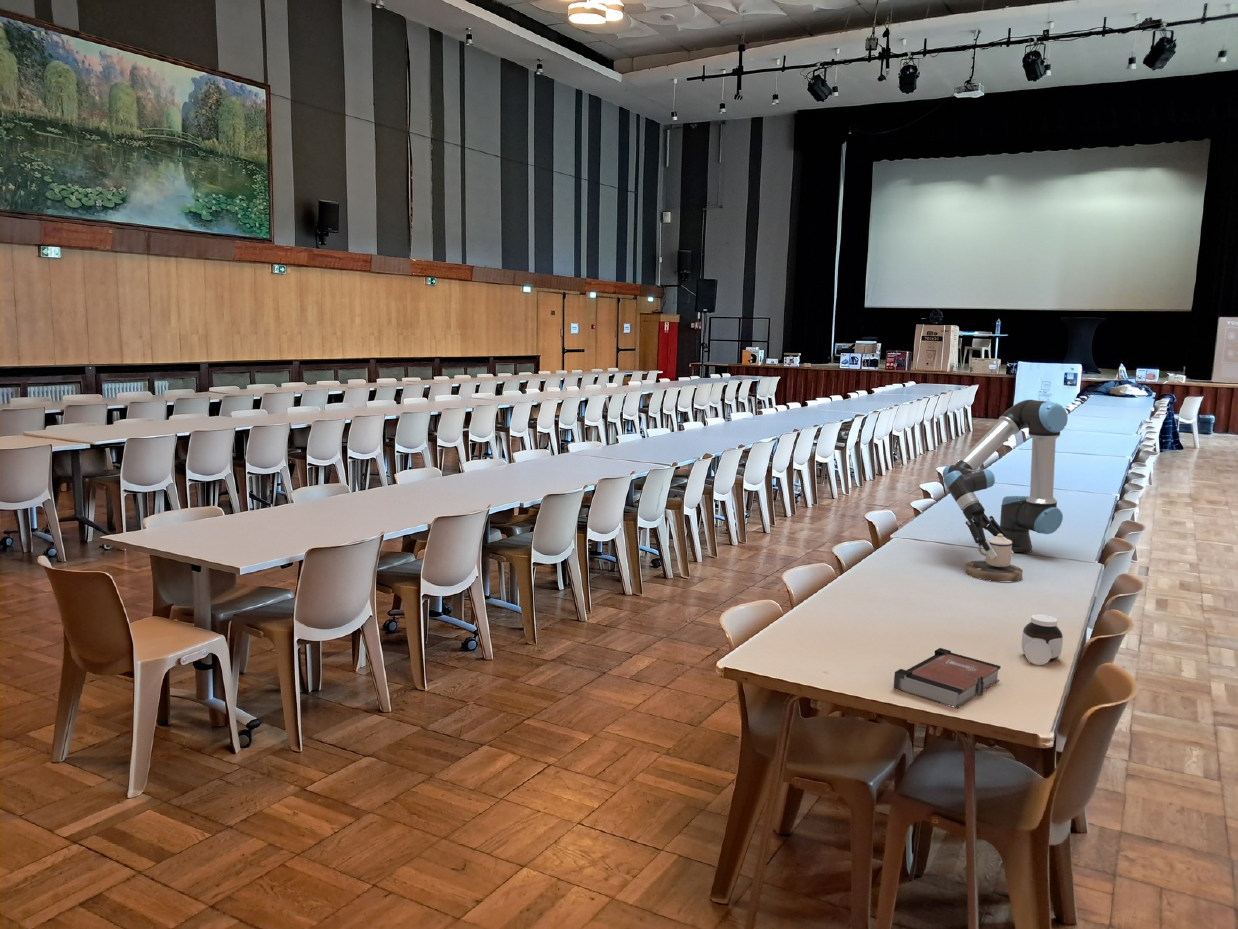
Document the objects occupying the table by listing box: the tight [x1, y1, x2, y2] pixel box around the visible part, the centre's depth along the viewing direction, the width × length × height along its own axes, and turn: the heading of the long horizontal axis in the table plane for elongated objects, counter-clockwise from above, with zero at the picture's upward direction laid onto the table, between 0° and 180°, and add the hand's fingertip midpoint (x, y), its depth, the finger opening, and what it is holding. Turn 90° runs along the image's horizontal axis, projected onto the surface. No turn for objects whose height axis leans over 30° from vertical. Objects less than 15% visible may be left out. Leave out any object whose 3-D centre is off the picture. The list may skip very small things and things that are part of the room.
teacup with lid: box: [978, 534, 1013, 567], centre depth 343 cm, size 12×9×12 cm
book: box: [893, 647, 1001, 709], centre depth 235 cm, size 26×18×5 cm
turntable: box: [964, 560, 1024, 582], centre depth 344 cm, size 20×20×3 cm
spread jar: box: [1021, 614, 1064, 666], centre depth 255 cm, size 12×11×12 cm
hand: (1002, 556), depth 340 cm, fingers closed on teacup with lid, 9 cm apart
